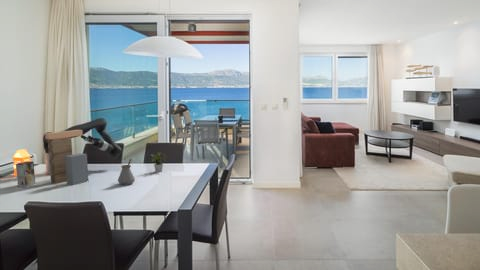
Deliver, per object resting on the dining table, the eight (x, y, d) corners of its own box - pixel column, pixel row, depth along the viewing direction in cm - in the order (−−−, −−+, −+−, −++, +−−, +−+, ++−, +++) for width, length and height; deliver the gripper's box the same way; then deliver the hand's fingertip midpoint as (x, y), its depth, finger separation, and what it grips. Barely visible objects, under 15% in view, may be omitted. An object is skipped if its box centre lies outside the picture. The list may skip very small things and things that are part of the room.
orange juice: (31, 173, 276) (29, 148, 274) (23, 176, 267) (21, 150, 265) (22, 173, 277) (20, 148, 275) (14, 175, 269) (12, 150, 266)
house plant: (156, 174, 268) (155, 154, 266) (145, 172, 276) (144, 152, 274) (170, 171, 279) (169, 151, 278) (159, 169, 288) (158, 149, 286)
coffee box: (28, 183, 246) (26, 161, 244) (35, 183, 244) (33, 161, 242) (17, 186, 237) (15, 163, 235) (25, 187, 235) (23, 164, 233)
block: (45, 139, 240) (45, 133, 240) (79, 135, 262) (79, 129, 262) (48, 139, 238) (48, 133, 238) (82, 135, 260) (82, 130, 260)
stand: (51, 182, 246) (47, 138, 242) (69, 178, 258) (66, 136, 254) (55, 183, 243) (52, 139, 239) (74, 179, 255) (71, 136, 251)
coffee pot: (132, 185, 237) (131, 164, 235) (115, 186, 236) (114, 164, 234) (139, 178, 258) (138, 158, 256) (124, 178, 257) (123, 158, 255)
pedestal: (67, 183, 243) (65, 156, 240) (82, 180, 253) (80, 153, 251) (73, 185, 239) (71, 156, 237) (88, 181, 250) (86, 154, 247)
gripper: (97, 139, 282) (80, 131, 269) (108, 140, 274) (92, 132, 262) (93, 148, 279) (77, 140, 266) (104, 149, 272) (88, 141, 259)
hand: (84, 136), depth 264 cm, fingers open, 8 cm apart
